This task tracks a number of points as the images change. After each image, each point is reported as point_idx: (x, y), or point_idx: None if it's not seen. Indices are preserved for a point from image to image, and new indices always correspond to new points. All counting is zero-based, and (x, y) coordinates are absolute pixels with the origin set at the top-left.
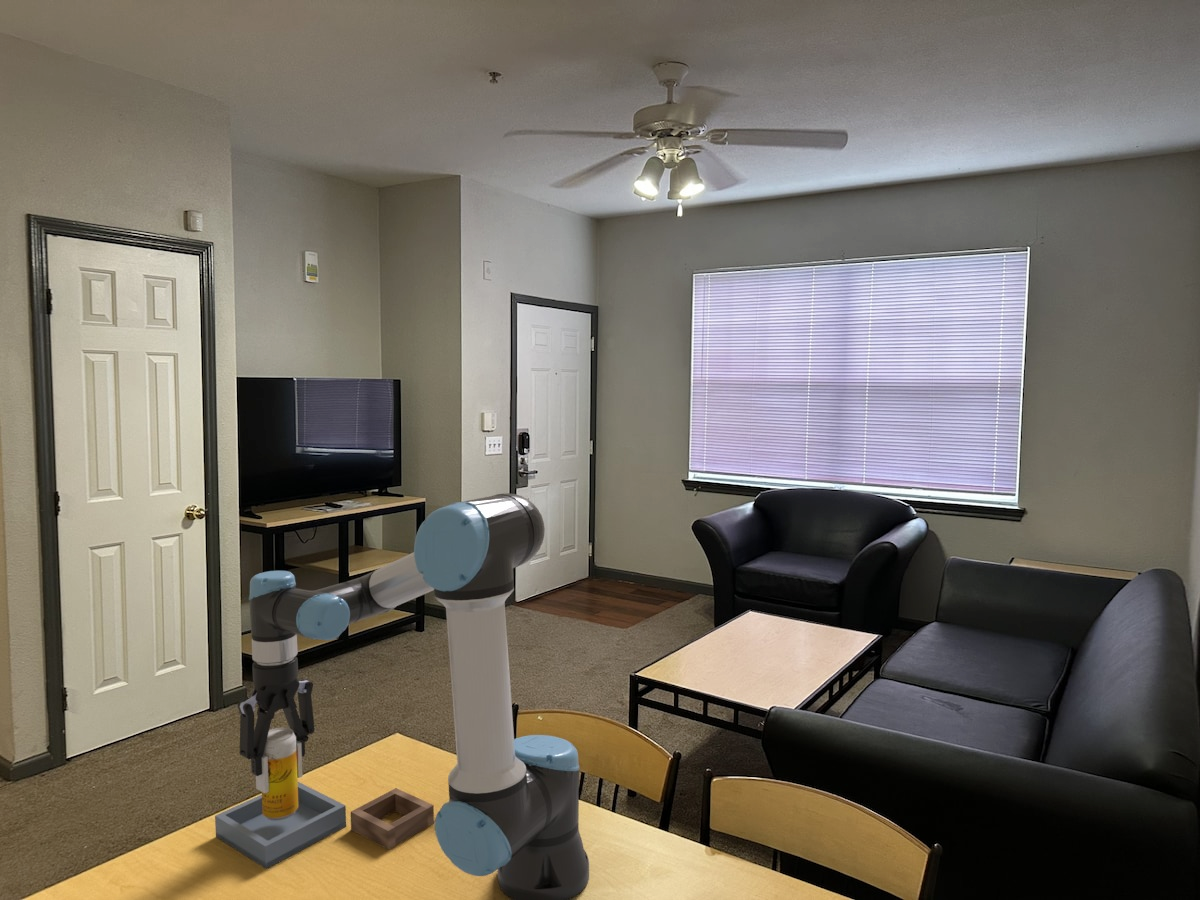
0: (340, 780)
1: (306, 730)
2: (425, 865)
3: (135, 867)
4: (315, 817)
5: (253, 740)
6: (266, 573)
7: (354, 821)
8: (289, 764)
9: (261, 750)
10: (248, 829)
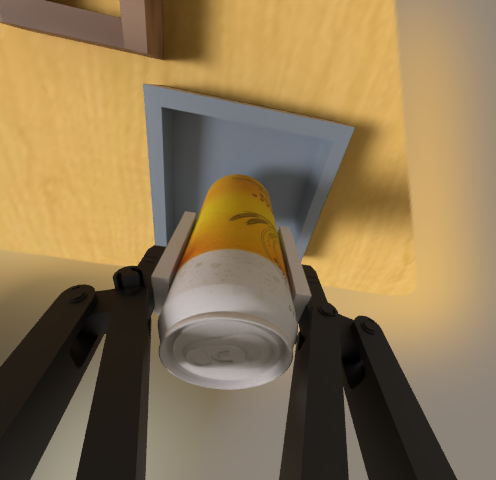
0: (82, 220)
1: (97, 309)
2: None
3: (370, 279)
4: (221, 115)
5: (384, 389)
6: None
7: (154, 37)
8: (237, 230)
9: (324, 324)
10: (310, 206)
